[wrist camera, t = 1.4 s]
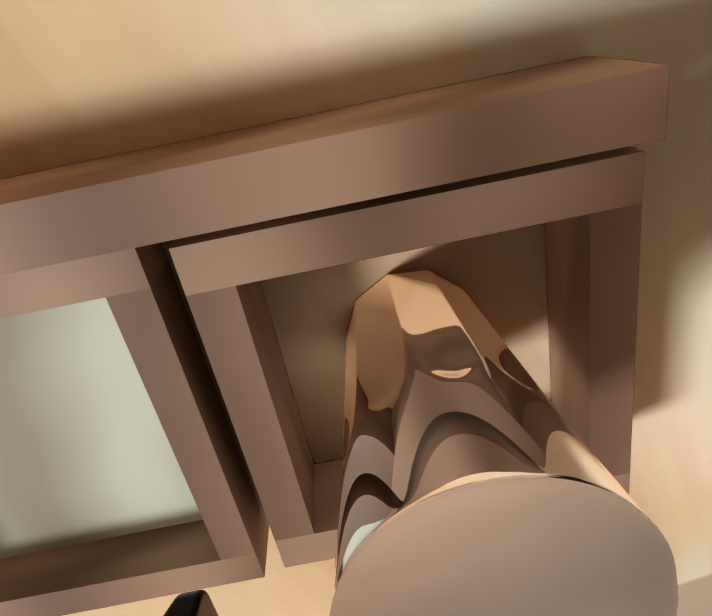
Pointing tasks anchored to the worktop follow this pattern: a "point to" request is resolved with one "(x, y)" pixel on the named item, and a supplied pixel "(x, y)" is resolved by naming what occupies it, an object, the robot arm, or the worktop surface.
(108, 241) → the divided wooden tray
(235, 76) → the worktop surface
